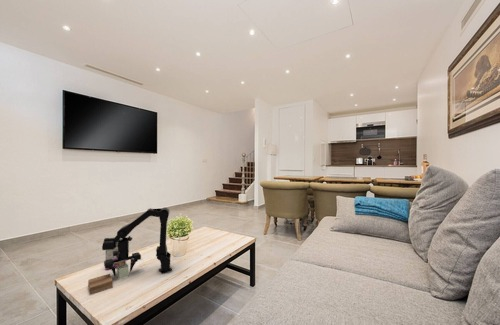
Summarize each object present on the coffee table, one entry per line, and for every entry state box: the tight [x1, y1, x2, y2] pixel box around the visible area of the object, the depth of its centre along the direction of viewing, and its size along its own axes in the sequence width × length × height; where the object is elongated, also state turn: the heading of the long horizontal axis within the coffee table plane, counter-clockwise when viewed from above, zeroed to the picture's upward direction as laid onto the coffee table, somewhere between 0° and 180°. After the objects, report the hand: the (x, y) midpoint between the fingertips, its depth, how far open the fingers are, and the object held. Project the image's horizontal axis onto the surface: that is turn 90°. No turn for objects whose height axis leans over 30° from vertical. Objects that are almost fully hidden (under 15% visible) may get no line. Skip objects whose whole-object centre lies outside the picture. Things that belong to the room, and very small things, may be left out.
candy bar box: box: [105, 244, 127, 271], centre depth 137 cm, size 11×5×16 cm, turn 117°
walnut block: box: [87, 273, 114, 296], centre depth 114 cm, size 10×10×4 cm
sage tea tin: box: [116, 263, 130, 280], centre depth 126 cm, size 5×5×6 cm
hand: (122, 273), depth 126 cm, fingers open, 8 cm apart
